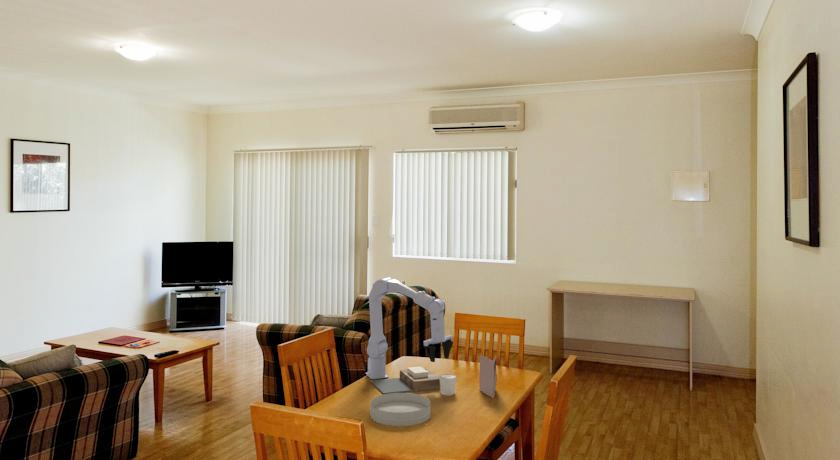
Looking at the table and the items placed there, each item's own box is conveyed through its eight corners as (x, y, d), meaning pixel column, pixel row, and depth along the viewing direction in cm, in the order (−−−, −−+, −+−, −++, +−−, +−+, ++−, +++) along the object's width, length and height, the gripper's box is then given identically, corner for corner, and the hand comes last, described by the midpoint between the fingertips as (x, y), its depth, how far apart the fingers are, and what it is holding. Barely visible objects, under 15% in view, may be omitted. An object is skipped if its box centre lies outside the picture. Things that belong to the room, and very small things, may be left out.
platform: (399, 379, 266) (399, 369, 266) (425, 376, 270) (425, 367, 270) (413, 391, 249) (413, 381, 249) (441, 388, 253) (441, 378, 253)
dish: (397, 401, 237) (397, 388, 237) (443, 414, 223) (443, 400, 223) (357, 416, 220) (357, 403, 220) (403, 432, 206) (403, 417, 206)
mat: (371, 382, 261) (371, 380, 261) (398, 379, 266) (398, 377, 266) (383, 394, 244) (383, 393, 244) (412, 391, 249) (412, 389, 249)
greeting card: (495, 398, 240) (496, 361, 239) (476, 397, 242) (477, 360, 241) (497, 389, 251) (498, 354, 251) (479, 388, 253) (480, 353, 252)
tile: (407, 372, 262) (407, 367, 262) (420, 370, 264) (420, 366, 264) (414, 378, 254) (414, 373, 254) (428, 376, 256) (428, 371, 256)
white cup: (456, 390, 250) (456, 374, 249) (455, 396, 243) (455, 378, 243) (439, 390, 250) (439, 373, 250) (438, 395, 244) (438, 378, 243)
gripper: (430, 331, 250) (432, 364, 251) (456, 326, 259) (458, 358, 260) (419, 330, 256) (421, 362, 256) (446, 324, 265) (448, 355, 265)
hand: (439, 359), depth 258 cm, fingers open, 7 cm apart
